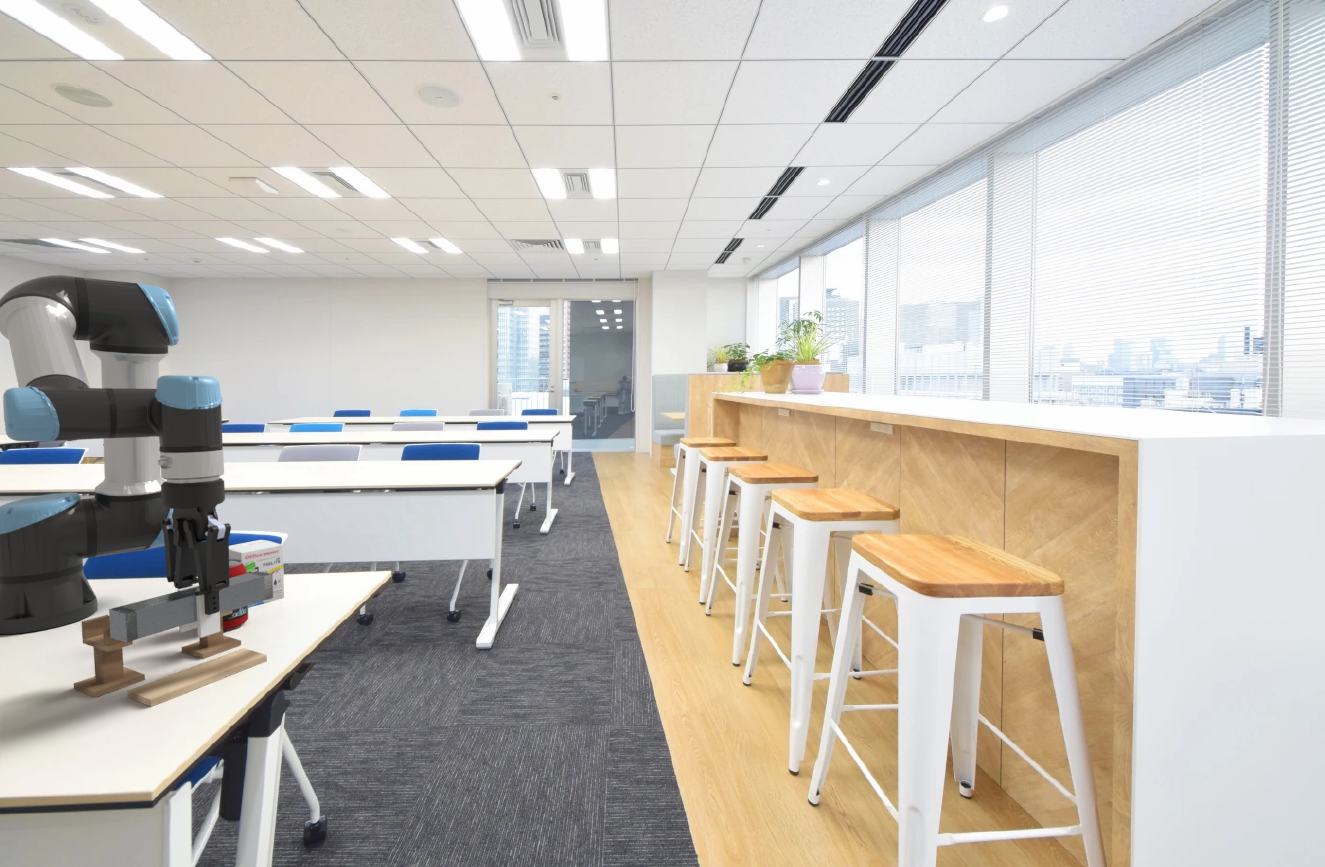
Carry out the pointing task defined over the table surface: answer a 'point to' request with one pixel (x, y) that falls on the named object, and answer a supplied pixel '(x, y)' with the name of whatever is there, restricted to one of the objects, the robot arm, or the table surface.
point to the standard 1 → (105, 660)
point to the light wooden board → (195, 677)
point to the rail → (184, 607)
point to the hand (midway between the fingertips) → (199, 631)
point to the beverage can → (241, 613)
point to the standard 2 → (212, 643)
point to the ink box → (262, 562)
